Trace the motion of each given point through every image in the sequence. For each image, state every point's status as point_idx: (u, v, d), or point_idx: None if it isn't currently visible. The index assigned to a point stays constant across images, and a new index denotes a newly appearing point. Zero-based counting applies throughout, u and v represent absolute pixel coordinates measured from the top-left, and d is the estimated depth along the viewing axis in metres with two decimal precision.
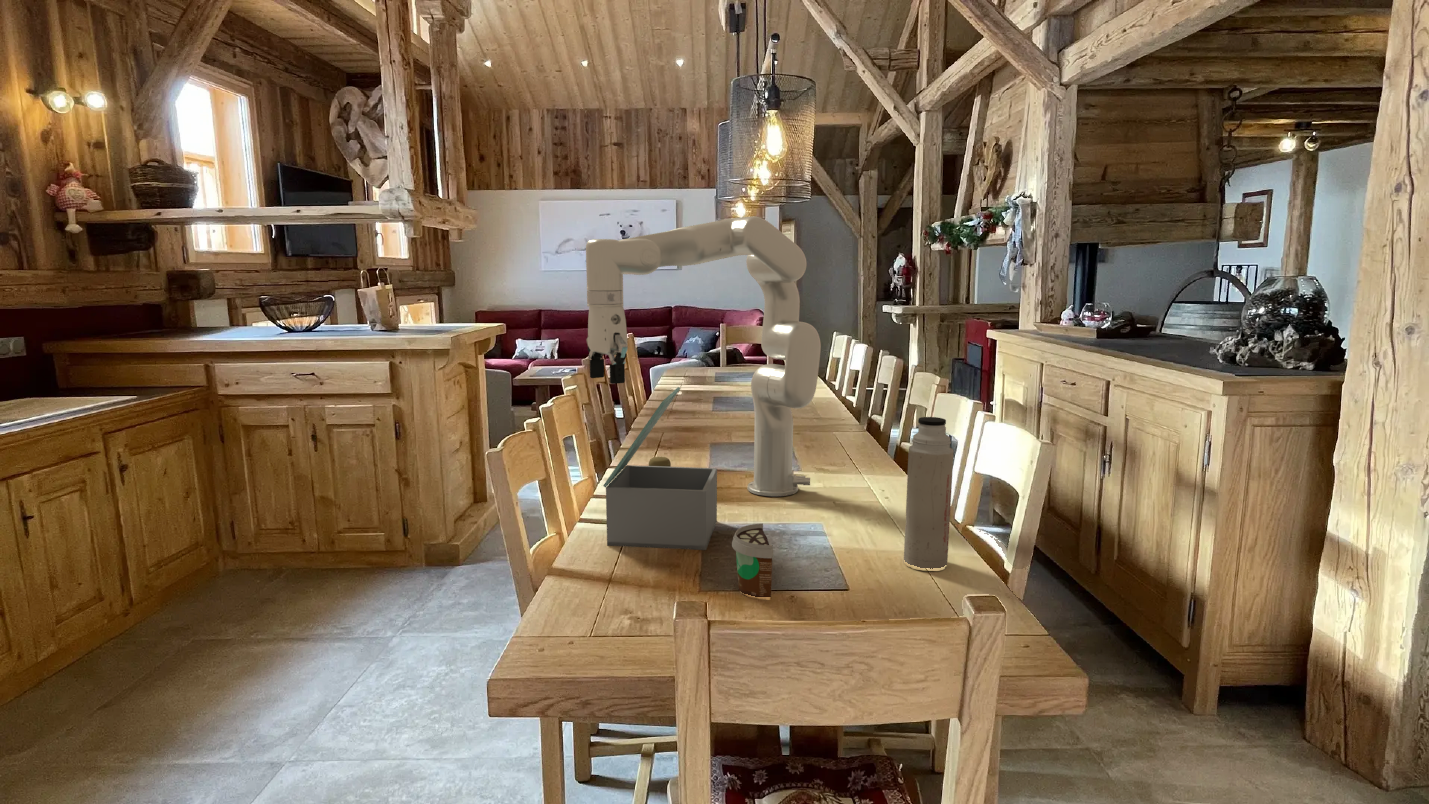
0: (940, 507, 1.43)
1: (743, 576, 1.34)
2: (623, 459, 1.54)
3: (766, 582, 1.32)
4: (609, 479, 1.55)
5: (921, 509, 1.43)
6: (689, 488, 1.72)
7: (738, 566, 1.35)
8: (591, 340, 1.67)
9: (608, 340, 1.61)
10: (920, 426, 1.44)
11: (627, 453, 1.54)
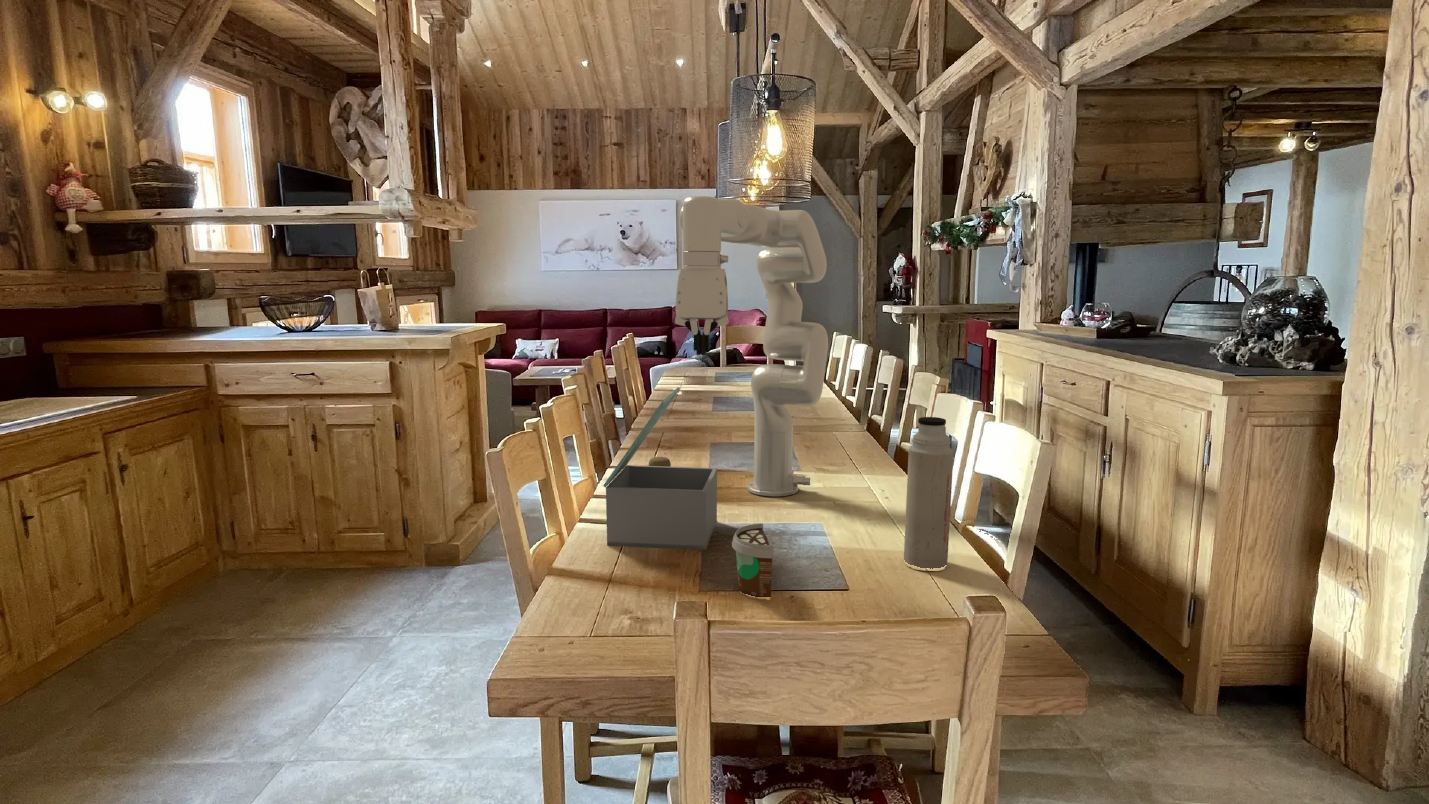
0: (940, 507, 1.43)
1: (743, 576, 1.34)
2: (623, 459, 1.54)
3: (766, 582, 1.32)
4: (609, 479, 1.55)
5: (921, 509, 1.43)
6: (689, 488, 1.72)
7: (738, 566, 1.35)
8: (687, 306, 1.55)
9: (724, 303, 1.54)
10: (920, 426, 1.44)
11: (627, 453, 1.54)
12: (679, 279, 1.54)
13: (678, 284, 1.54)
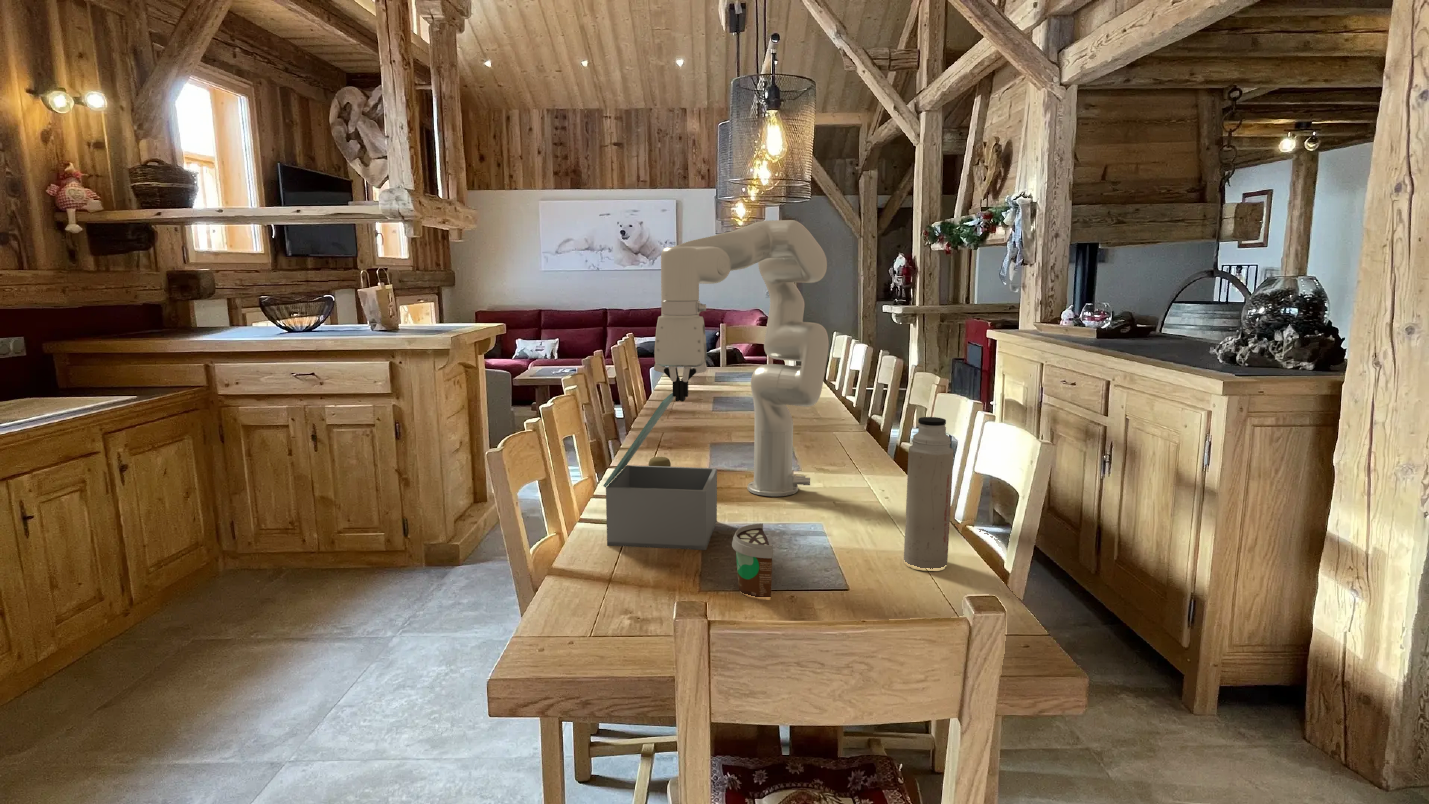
0: (940, 507, 1.43)
1: (743, 576, 1.34)
2: (623, 459, 1.54)
3: (766, 582, 1.32)
4: (609, 479, 1.55)
5: (921, 509, 1.43)
6: (689, 488, 1.72)
7: (738, 566, 1.35)
8: (666, 354, 1.57)
9: (702, 351, 1.56)
10: (920, 426, 1.44)
11: (627, 453, 1.54)
12: (658, 327, 1.56)
13: (657, 332, 1.57)
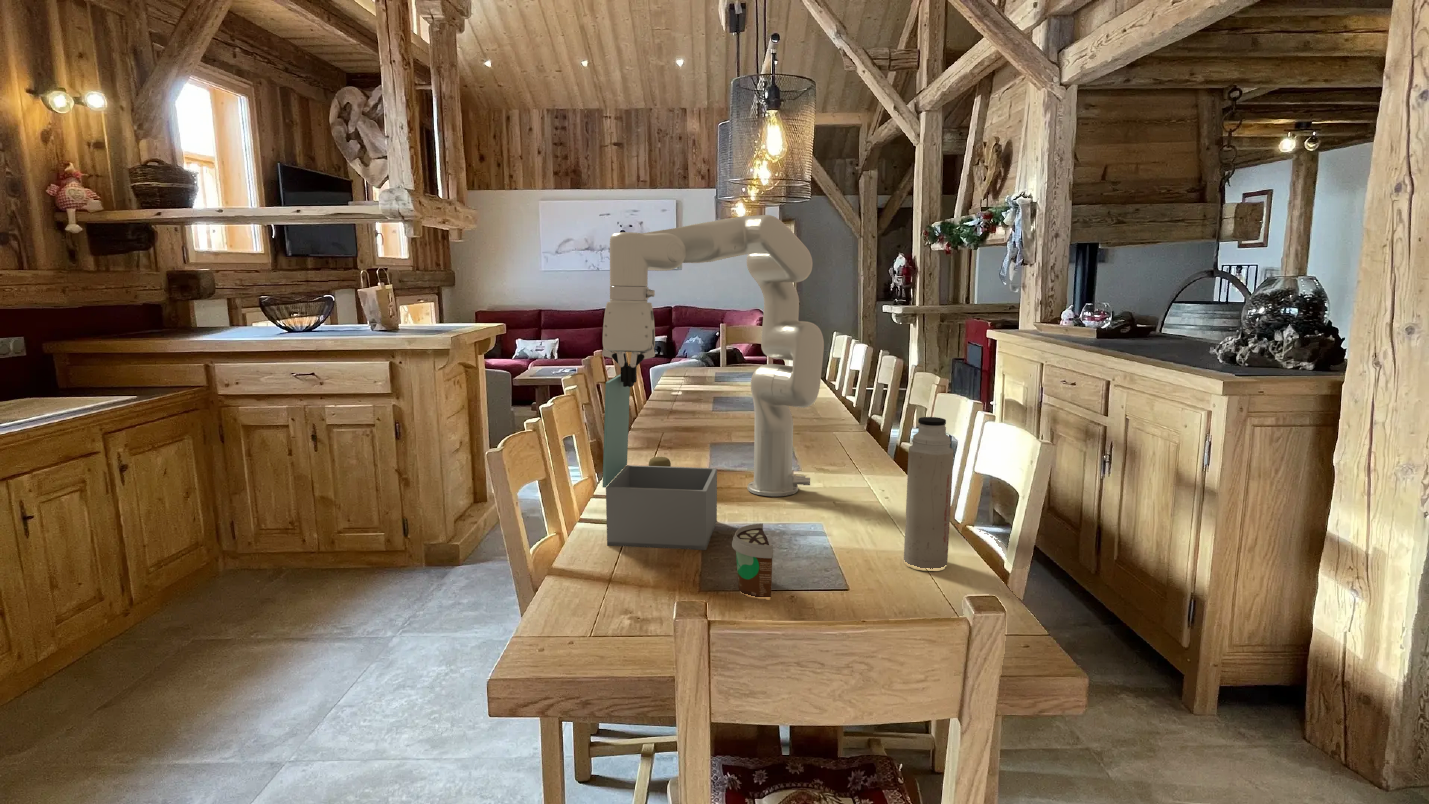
0: (940, 507, 1.43)
1: (743, 576, 1.34)
2: (605, 453, 1.55)
3: (766, 582, 1.32)
4: (604, 478, 1.55)
5: (921, 509, 1.43)
6: (689, 488, 1.72)
7: (738, 566, 1.35)
8: (614, 339, 1.57)
9: (650, 337, 1.57)
10: (920, 426, 1.44)
11: (605, 446, 1.54)
12: (606, 312, 1.57)
13: (605, 317, 1.57)
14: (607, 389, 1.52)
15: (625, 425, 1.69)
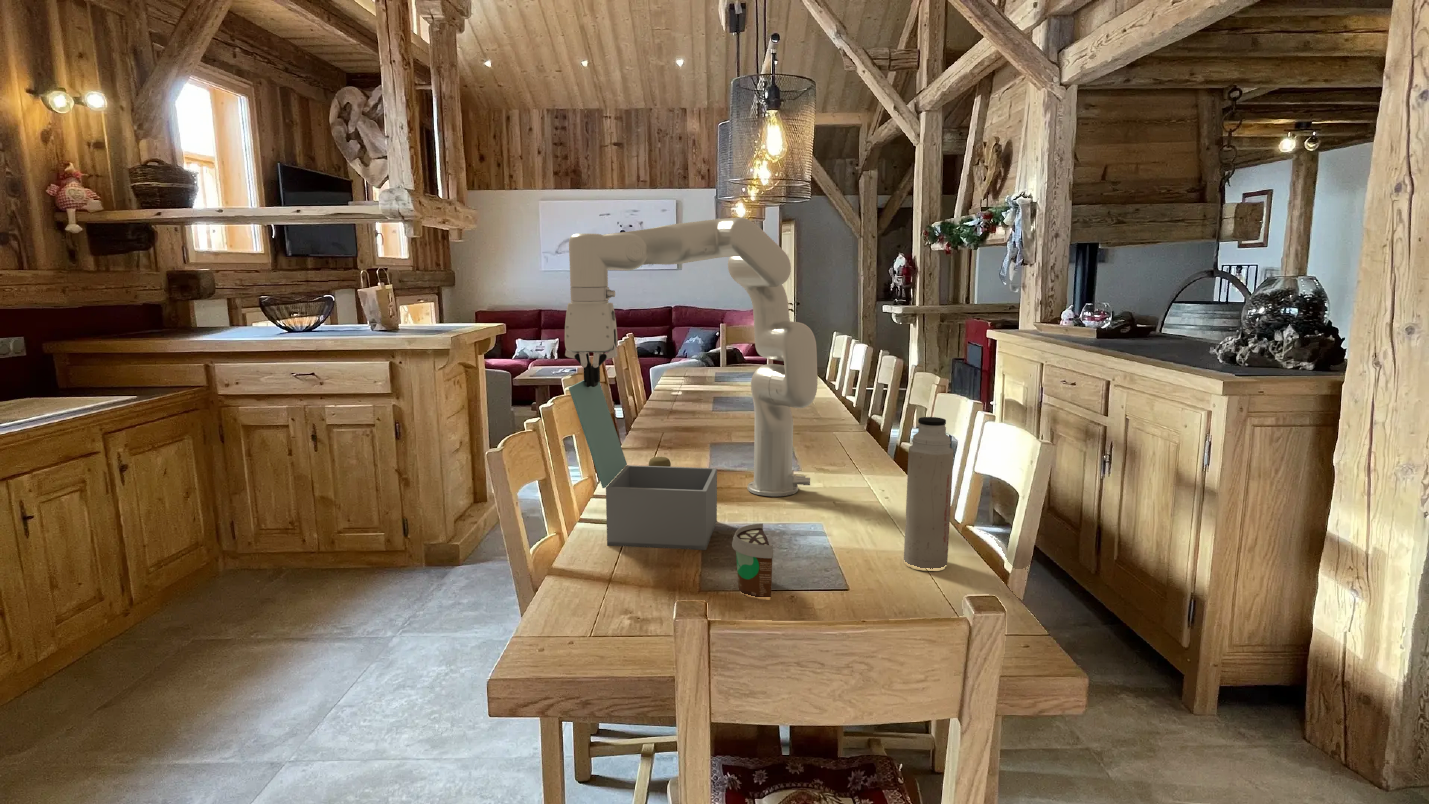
0: (940, 507, 1.43)
1: (743, 576, 1.34)
2: (593, 455, 1.55)
3: (766, 582, 1.32)
4: (601, 479, 1.56)
5: (921, 509, 1.43)
6: (689, 488, 1.72)
7: (738, 566, 1.35)
8: (575, 340, 1.59)
9: (611, 337, 1.58)
10: (920, 426, 1.44)
11: (590, 448, 1.55)
12: (567, 314, 1.58)
13: (566, 318, 1.58)
14: (572, 393, 1.53)
15: (610, 427, 1.70)
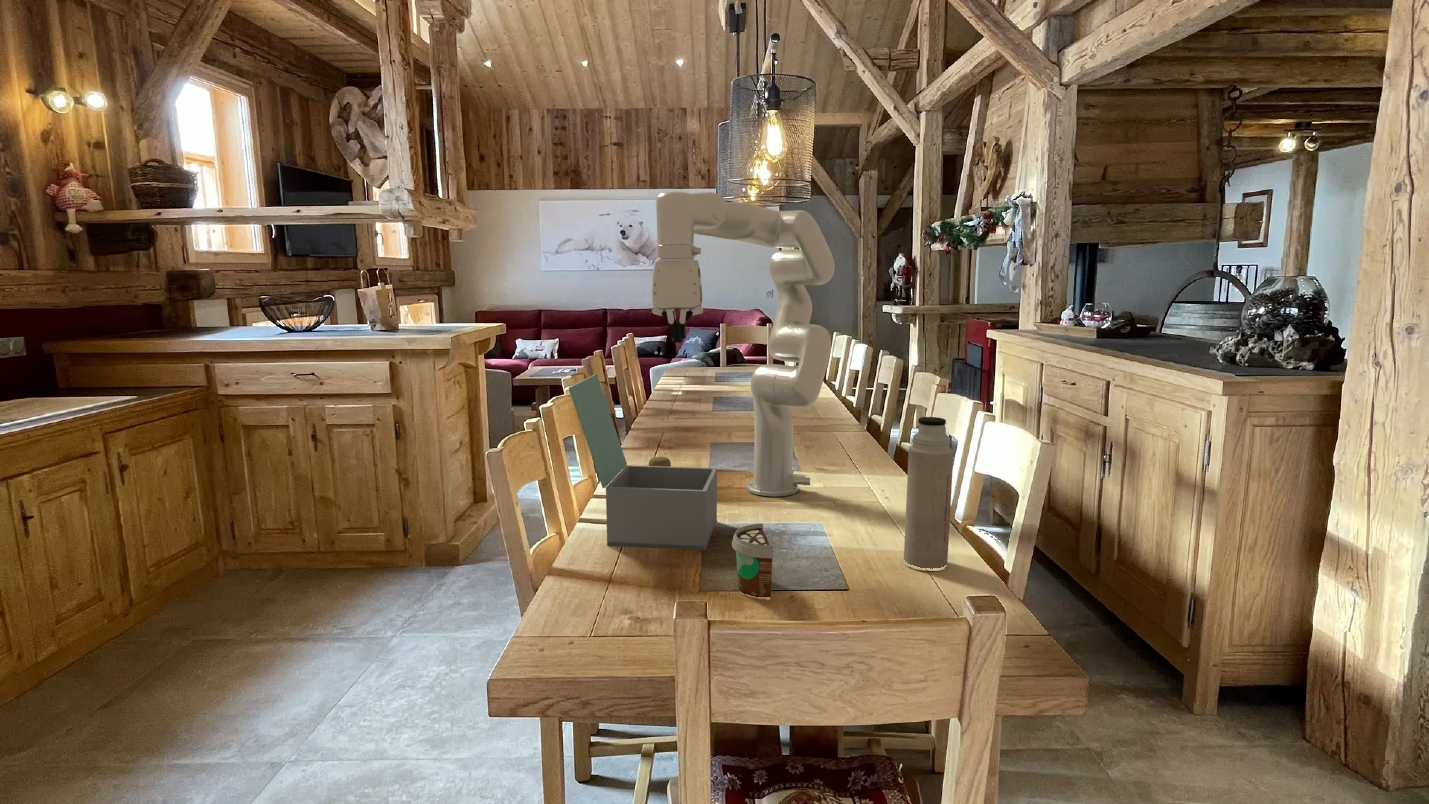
0: (940, 507, 1.43)
1: (743, 576, 1.34)
2: (592, 455, 1.55)
3: (766, 582, 1.32)
4: (601, 479, 1.56)
5: (921, 509, 1.43)
6: (689, 488, 1.72)
7: (738, 566, 1.35)
8: (663, 297, 1.63)
9: (698, 293, 1.62)
10: (920, 426, 1.44)
11: (590, 448, 1.55)
12: (655, 271, 1.62)
13: (654, 276, 1.62)
14: (572, 393, 1.53)
15: (610, 427, 1.70)
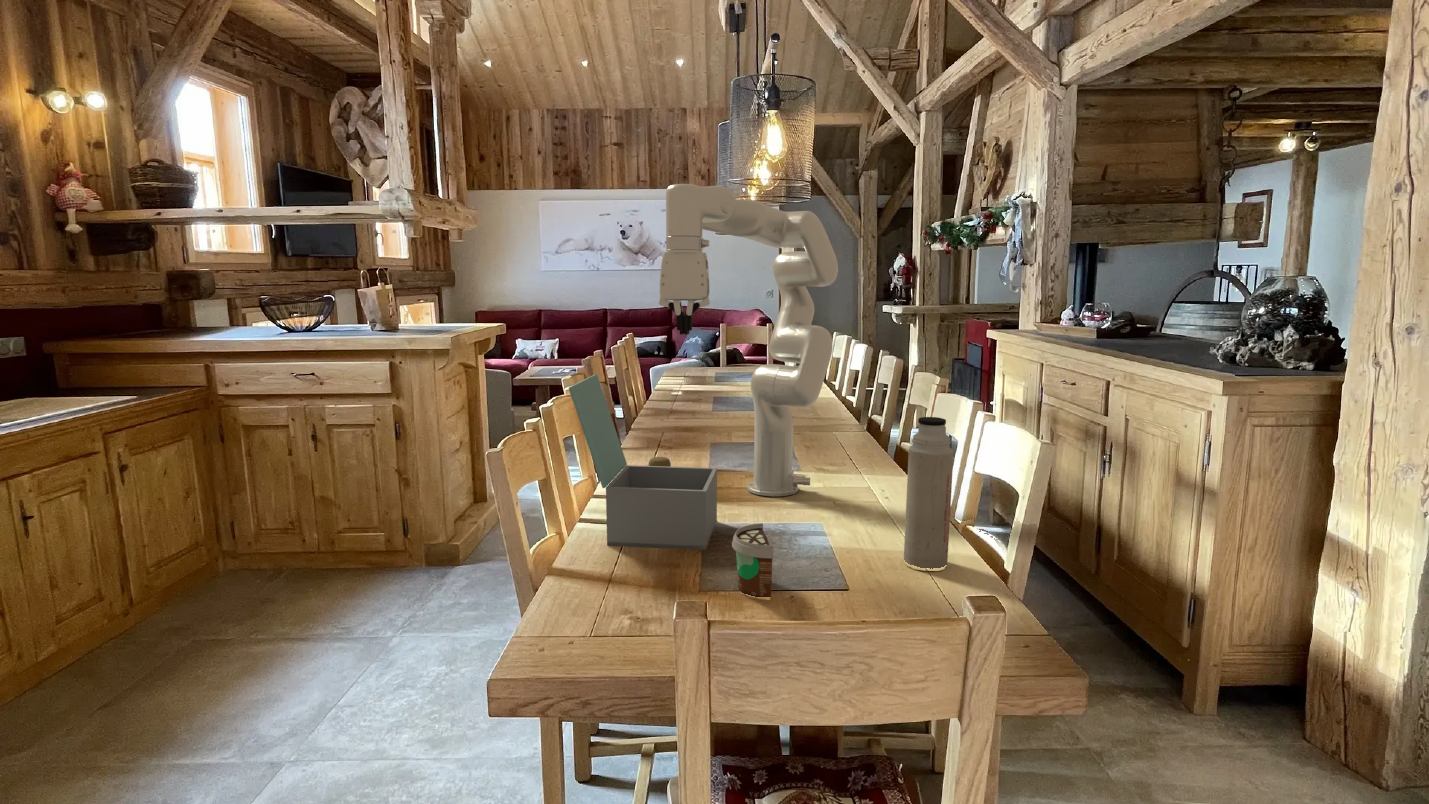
0: (940, 507, 1.43)
1: (743, 576, 1.34)
2: (592, 455, 1.55)
3: (766, 582, 1.32)
4: (601, 479, 1.56)
5: (921, 509, 1.43)
6: (689, 488, 1.72)
7: (738, 566, 1.35)
8: (671, 288, 1.64)
9: (706, 285, 1.63)
10: (920, 426, 1.44)
11: (590, 448, 1.55)
12: (663, 262, 1.63)
13: (662, 267, 1.63)
14: (572, 393, 1.53)
15: (610, 427, 1.70)
